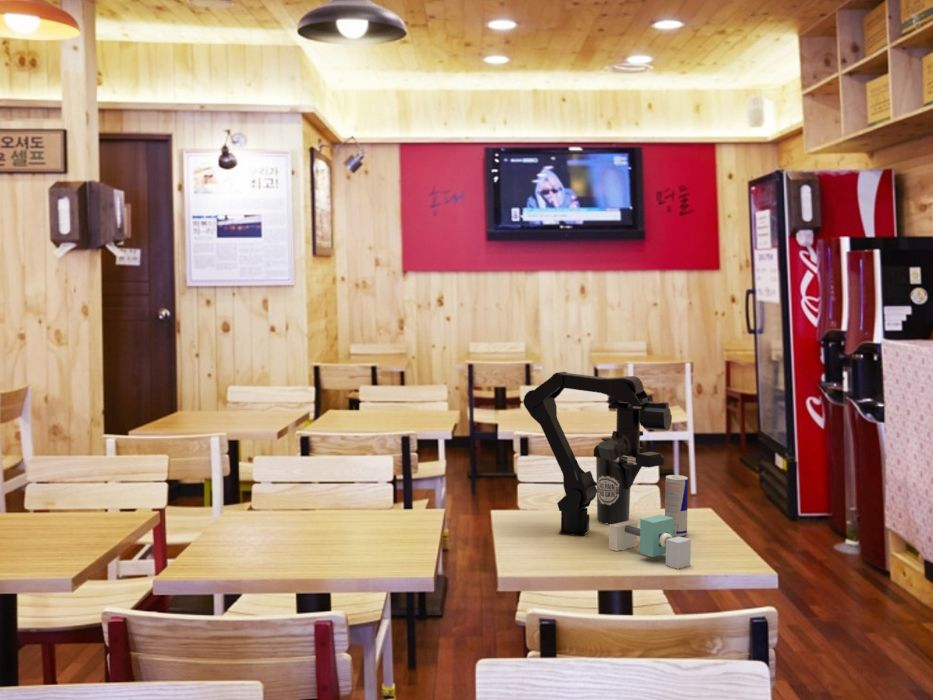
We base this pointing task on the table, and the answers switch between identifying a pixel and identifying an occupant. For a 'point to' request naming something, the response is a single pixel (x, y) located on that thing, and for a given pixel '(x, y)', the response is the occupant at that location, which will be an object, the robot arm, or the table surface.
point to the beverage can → (677, 502)
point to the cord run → (676, 547)
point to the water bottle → (611, 493)
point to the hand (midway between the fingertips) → (627, 489)
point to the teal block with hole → (654, 534)
